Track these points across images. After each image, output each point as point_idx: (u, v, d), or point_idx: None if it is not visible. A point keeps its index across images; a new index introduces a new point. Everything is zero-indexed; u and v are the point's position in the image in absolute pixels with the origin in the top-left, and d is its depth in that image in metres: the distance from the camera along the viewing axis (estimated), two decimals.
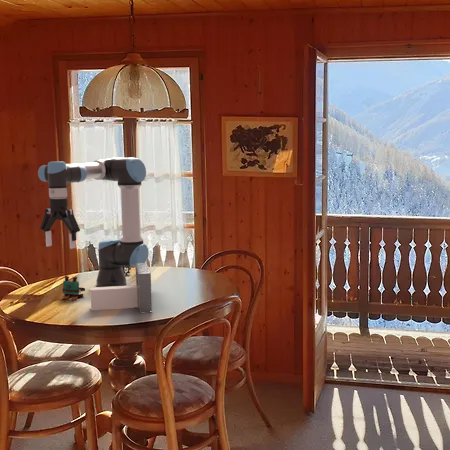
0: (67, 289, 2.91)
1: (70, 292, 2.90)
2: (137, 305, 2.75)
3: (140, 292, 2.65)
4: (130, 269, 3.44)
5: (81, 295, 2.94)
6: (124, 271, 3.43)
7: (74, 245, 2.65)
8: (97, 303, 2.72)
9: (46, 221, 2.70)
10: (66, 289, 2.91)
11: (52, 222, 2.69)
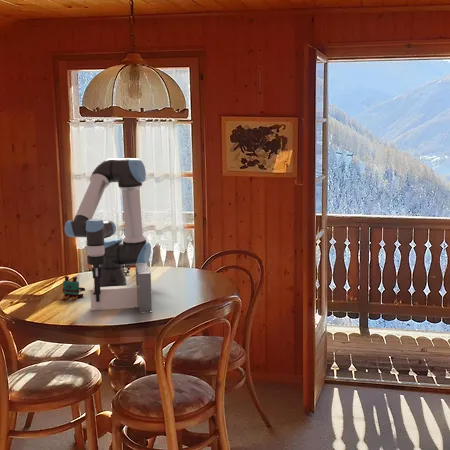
0: (67, 289, 2.91)
1: (70, 292, 2.90)
2: (137, 305, 2.75)
3: (140, 292, 2.65)
4: (129, 269, 3.44)
5: (81, 295, 2.94)
6: (123, 271, 3.43)
7: (99, 306, 2.71)
8: None
9: None
10: (66, 289, 2.91)
11: None
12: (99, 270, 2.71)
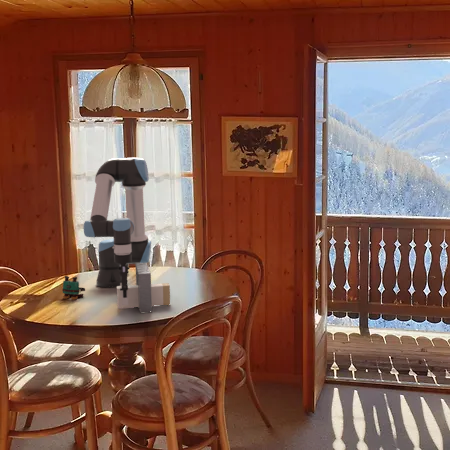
0: (67, 289, 2.91)
1: (70, 292, 2.90)
2: (163, 303, 2.77)
3: (140, 292, 2.65)
4: (129, 268, 3.45)
5: (81, 295, 2.94)
6: None
7: (126, 302, 2.69)
8: None
9: None
10: (66, 289, 2.91)
11: None
12: None
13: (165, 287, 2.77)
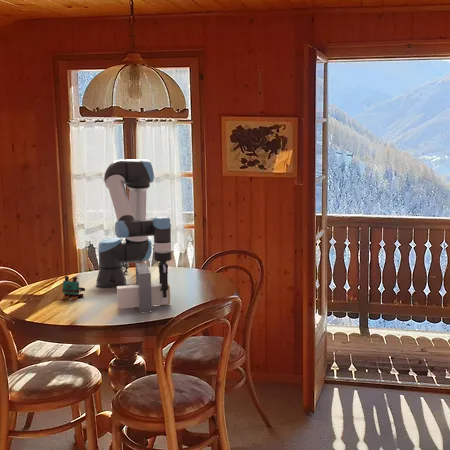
0: (67, 289, 2.91)
1: (70, 292, 2.90)
2: None
3: (140, 292, 2.65)
4: (127, 268, 3.46)
5: (81, 295, 2.94)
6: None
7: (166, 301, 2.77)
8: (123, 301, 2.74)
9: None
10: (66, 289, 2.91)
11: None
12: (166, 266, 2.76)
13: None
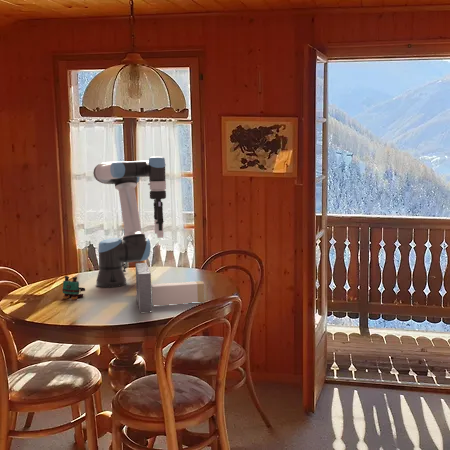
0: (67, 289, 2.91)
1: (70, 292, 2.90)
2: (197, 301, 2.80)
3: (140, 292, 2.65)
4: None
5: (81, 295, 2.94)
6: None
7: (161, 235, 2.86)
8: (158, 299, 2.77)
9: None
10: (66, 289, 2.91)
11: None
12: None
13: (199, 285, 2.80)
